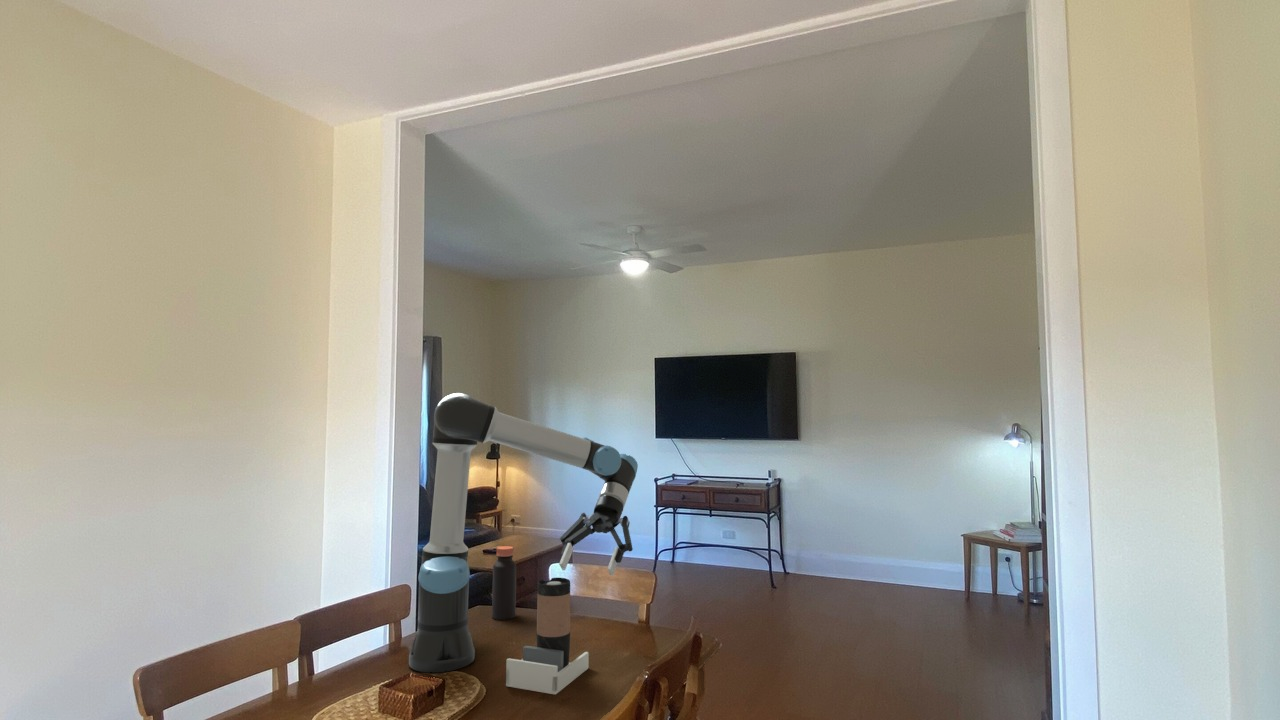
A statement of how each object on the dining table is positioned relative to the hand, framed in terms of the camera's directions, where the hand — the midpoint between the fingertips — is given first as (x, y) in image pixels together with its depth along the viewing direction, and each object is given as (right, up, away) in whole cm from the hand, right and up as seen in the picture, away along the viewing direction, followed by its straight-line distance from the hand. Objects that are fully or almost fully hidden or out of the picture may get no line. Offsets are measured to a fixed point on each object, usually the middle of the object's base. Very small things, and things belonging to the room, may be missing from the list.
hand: (585, 569), depth 167 cm
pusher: (-8, -18, -20) cm, 29 cm away
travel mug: (-6, -18, -16) cm, 25 cm away
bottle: (-26, -23, +27) cm, 44 cm away
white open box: (-7, -18, -18) cm, 27 cm away
